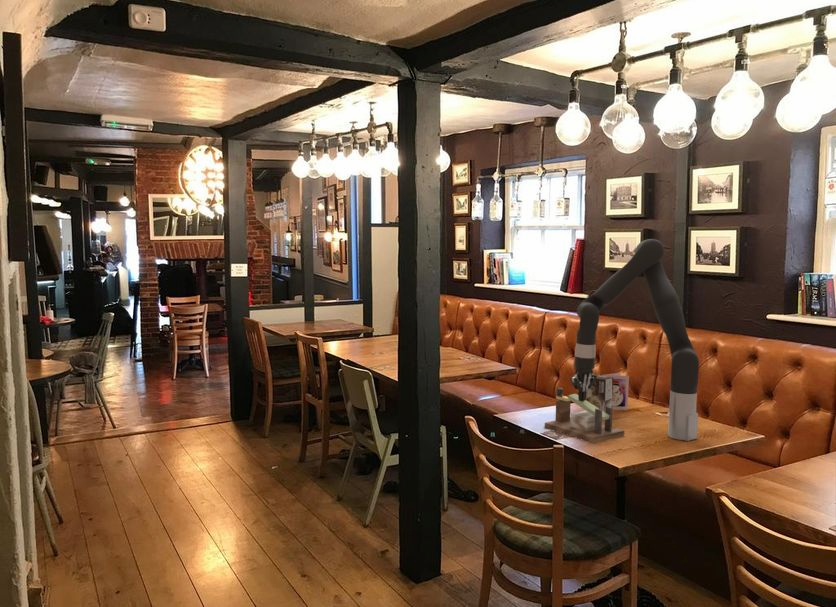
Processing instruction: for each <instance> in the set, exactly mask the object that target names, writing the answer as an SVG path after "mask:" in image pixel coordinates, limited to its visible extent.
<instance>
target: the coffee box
mask: <svg viewBox="0 0 836 607" xmlns="http://www.w3.org/2000/svg"><path fill="white" fill-rule="evenodd" d="M595 375H596V376H597V378H596V380H595V381H594V383H593V385H592V387H591V389H588V390H587V393H586V401H588V402H589V403H591V404H593V405H594V406H596V407H597V408H599V409H601V410H602V411H603V412H605V407H607V406H608V407H612V406H613V377H607V376H602V375H601V374H600V375H599V374H595Z"/></svg>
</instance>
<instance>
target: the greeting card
mask: <svg viewBox="0 0 836 607" xmlns="http://www.w3.org/2000/svg"><path fill="white" fill-rule="evenodd" d="M601 376H607V377H613V406H612V411H628V409H629V408H628V407H629V388H630V387H629V386H630V384H629V383H630V376H629V375H621V372H617V373H616V372H615V373H609V374H608V373H607V374H602V375H601Z"/></svg>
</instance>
